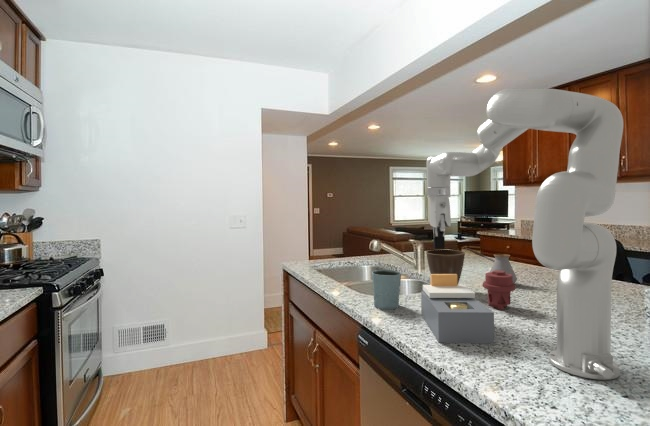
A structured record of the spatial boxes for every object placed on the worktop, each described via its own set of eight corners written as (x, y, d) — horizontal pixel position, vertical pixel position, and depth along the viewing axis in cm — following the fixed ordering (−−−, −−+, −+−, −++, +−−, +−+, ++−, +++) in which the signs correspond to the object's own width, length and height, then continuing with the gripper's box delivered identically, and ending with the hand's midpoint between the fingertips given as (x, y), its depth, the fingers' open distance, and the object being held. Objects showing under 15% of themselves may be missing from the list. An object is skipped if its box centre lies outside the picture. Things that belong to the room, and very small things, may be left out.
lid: (475, 298, 101) (475, 280, 101) (429, 297, 102) (429, 281, 102) (464, 289, 111) (463, 273, 111) (422, 289, 112) (422, 273, 112)
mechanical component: (510, 303, 123) (519, 312, 113) (479, 302, 125) (487, 310, 115) (509, 268, 122) (519, 274, 113) (479, 268, 124) (486, 274, 115)
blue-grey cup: (367, 303, 126) (367, 270, 125) (391, 300, 129) (391, 268, 129) (381, 311, 116) (381, 276, 116) (407, 308, 120) (406, 273, 119)
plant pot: (461, 297, 131) (461, 255, 131) (422, 292, 139) (421, 253, 139) (468, 288, 144) (467, 250, 144) (431, 284, 152) (431, 248, 151)
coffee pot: (519, 283, 152) (519, 249, 151) (513, 288, 143) (513, 252, 142) (469, 277, 165) (469, 246, 165) (461, 282, 156) (460, 248, 156)
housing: (494, 343, 89) (494, 312, 89) (438, 342, 90) (438, 312, 90) (465, 315, 111) (465, 290, 111) (421, 315, 112) (421, 290, 112)
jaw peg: (469, 329, 93) (469, 307, 93) (453, 329, 94) (453, 307, 93) (464, 324, 98) (464, 303, 97) (448, 324, 98) (448, 303, 98)
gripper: (457, 192, 107) (457, 251, 108) (443, 193, 123) (444, 245, 123) (432, 192, 108) (432, 251, 109) (422, 194, 123) (422, 245, 124)
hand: (438, 247), depth 116 cm, fingers closed
